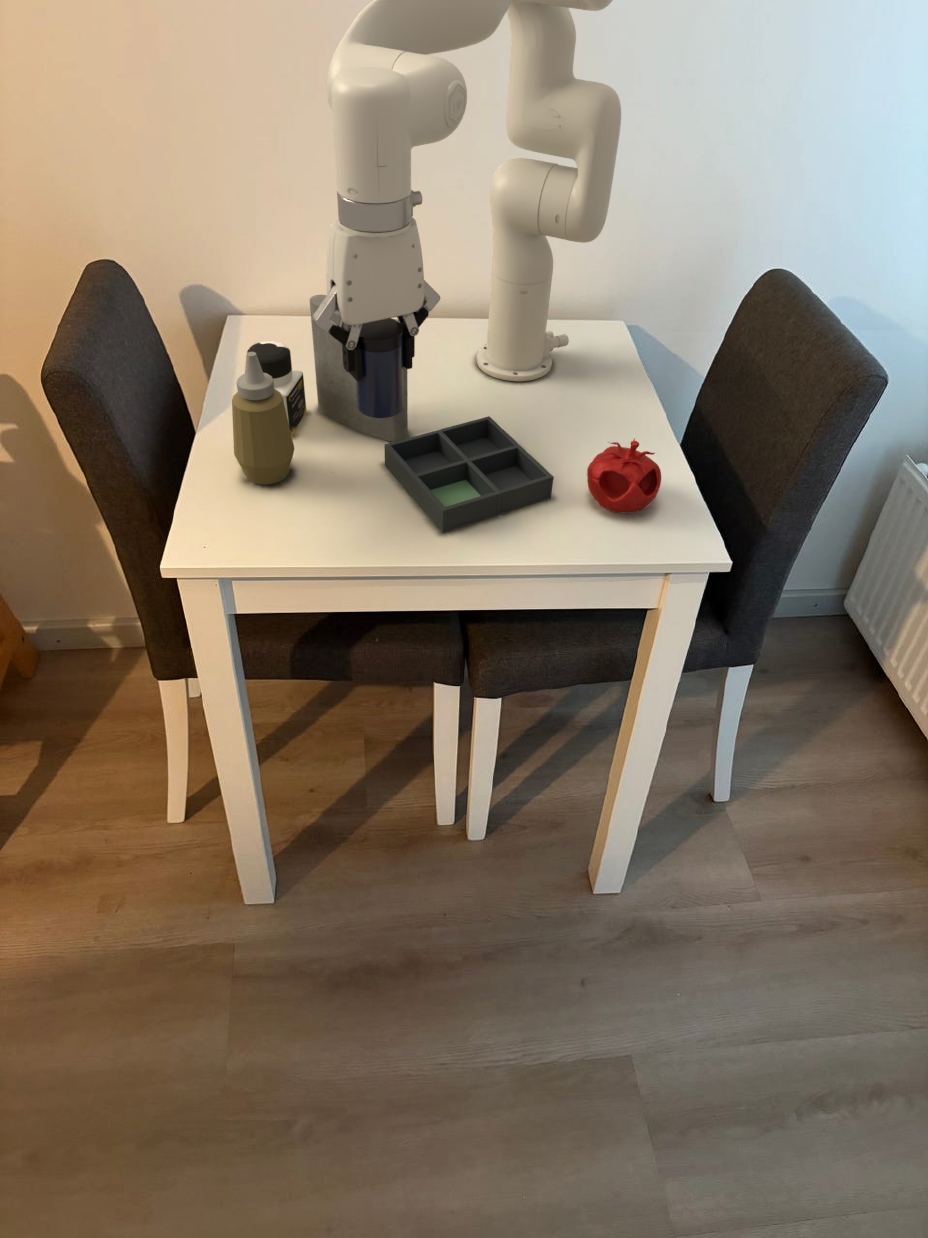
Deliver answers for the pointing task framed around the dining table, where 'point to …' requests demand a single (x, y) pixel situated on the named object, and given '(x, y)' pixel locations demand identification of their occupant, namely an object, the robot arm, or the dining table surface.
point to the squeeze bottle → (260, 426)
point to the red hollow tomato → (623, 478)
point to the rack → (467, 473)
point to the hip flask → (348, 387)
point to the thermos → (381, 369)
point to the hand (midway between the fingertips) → (379, 368)
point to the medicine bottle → (283, 378)
